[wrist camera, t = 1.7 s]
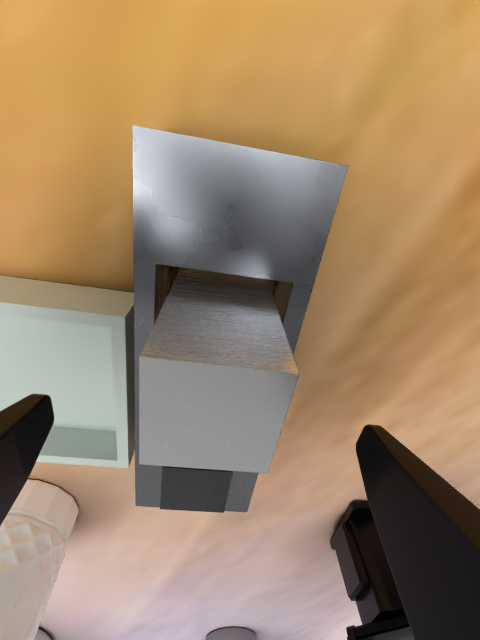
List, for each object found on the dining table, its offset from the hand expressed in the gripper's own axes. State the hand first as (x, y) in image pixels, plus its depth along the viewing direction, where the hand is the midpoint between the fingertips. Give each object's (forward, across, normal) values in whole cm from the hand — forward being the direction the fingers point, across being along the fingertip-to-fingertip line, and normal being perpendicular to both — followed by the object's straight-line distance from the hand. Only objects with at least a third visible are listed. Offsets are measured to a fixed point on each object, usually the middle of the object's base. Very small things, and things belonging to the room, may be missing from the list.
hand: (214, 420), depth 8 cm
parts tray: (+8, +9, +5) cm, 13 cm away
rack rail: (+8, 0, +3) cm, 8 cm away
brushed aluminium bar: (+8, 0, 0) cm, 8 cm away
